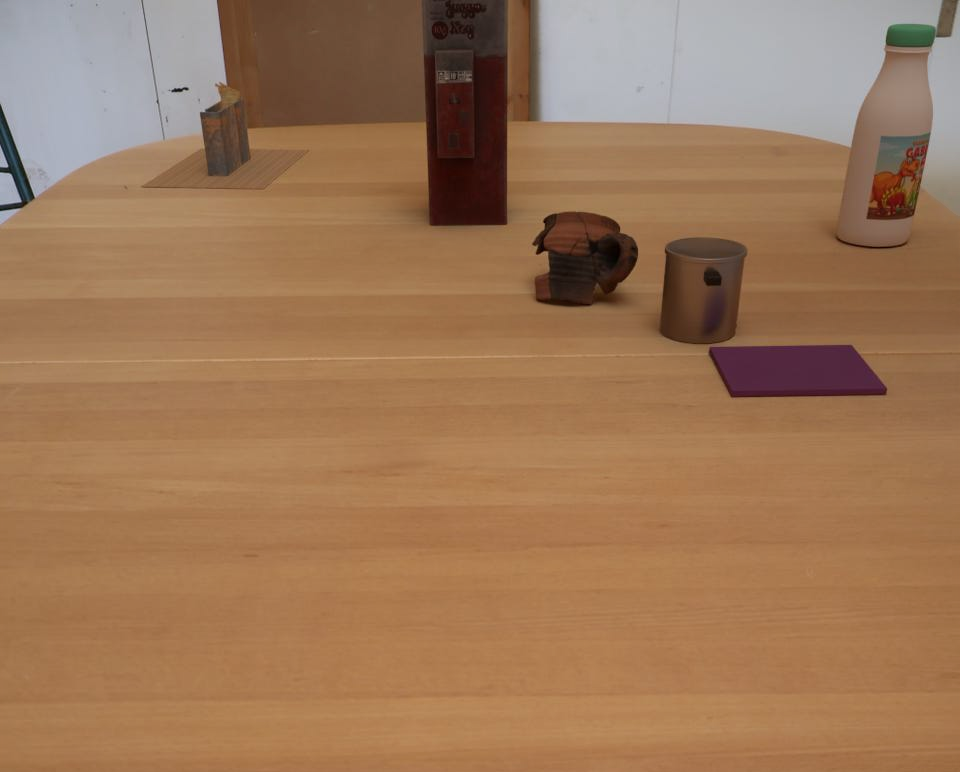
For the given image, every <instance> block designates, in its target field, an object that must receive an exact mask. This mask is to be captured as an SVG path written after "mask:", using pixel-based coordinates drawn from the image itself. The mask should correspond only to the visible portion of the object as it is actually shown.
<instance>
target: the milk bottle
mask: <svg viewBox="0 0 960 772" xmlns="http://www.w3.org/2000/svg"><path fill="white" fill-rule="evenodd" d="M936 32H937V28H936V26H935V25H931V24H924V23H895V24H890V25H889V26H888V28H887V30H886V36H885V45H884V48H883V50H884V53H885V55H884V60H883V63H882V65H881V68H880V70H879V73H878V74H877V76H876V78H875V80H874V82H873V84H872V86H871V87H870V89H869V90H868V93H867V94H866V96H865V98H864V99H863V101H862V104H861V106H860V108H859V111H858V114H857V117H856V120H855V125H854V131H853V135H852V139H851V145H850V149H849V150H850V151H849V154H848V155H849V156H848V161H847V165H846V166H847V167H846V172H845V178H844V184H843V189H842V195H841V201H840V207H839V212H838V219H837V225H836V226H837V227H836V237H837V239H839V240H840V241H842V242H845V243H848V244H851V245H856V246H862V247H863V246H864V247H877V248H881V247H896V246H899V245H900V246H901V245H903V244H905V243H906V242H907V241H908V239H909V238H910V235H911V231H912V227H913V226H912V225H913V221H914V218H915V214H916V209H917V203H918V199H919V194H920V189H921V184H922V180H923V175H924V170H925V165H926V161H927V155H928V150H929V145H930V140H931V134H932V129H933V128H932V127H933V121H934V105H933V98H932V92H931V87H930V83H929V73H928V62H929V61H928V60H929V56H930V53H932V52H933V45H934V43H935V39H936V34H937V33H936Z"/></svg>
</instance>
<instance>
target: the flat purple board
mask: <svg viewBox="0 0 960 772" xmlns="http://www.w3.org/2000/svg"><path fill="white" fill-rule="evenodd" d="M708 347H709V349H708V353H709V355H710V358H711V359H712V361H713V363H714V365H715V367H716V369H717V372H718V373H719V375H720V377H721V379H722V381H723V383H724V385H725V387H726V389H727V390H728V392H729V394H730V396H731V397H732V398H733V397H734V398H737V397H738V398H739V397H796V396H797V397H798V396H800V397H801V396H803V397H805V396H808V397H809V396H860V395H861V396H867V395H887V392H888V387H887V386H886V385H885V383H884V382H883V381H882V380H881V378H879V376H878V375H877V374H876V373H875V371H874V370H873V369H872V368H871V367H870V365H869V364H868V363H867V362H866V360H865V359H864V358H863V357H862V356H861V355H860V353H859V352H858V350H856V348H855V347H854V346H853V344H812V345H809V344H808V345H743V346H742V345H739V346H738V345H737V346H734V345H733V346H708Z"/></svg>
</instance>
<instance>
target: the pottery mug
mask: <svg viewBox="0 0 960 772" xmlns="http://www.w3.org/2000/svg"><path fill="white" fill-rule="evenodd" d="M542 223H543V224H544V229H543V230H541V231H540V232H539V234H538V235H536V237H535V238H534V240H533V241H532V243H531V244H532V246H533V247H537V248H536V250H535V255H537V256H538V255H541V254H542V253H544V252H547V257H548V267H549V268H548V269H549V270H548V272H546V273H542V274H539V275H536V276H535V277H534V286H535V287H534V291H535V300H536V301H548V300H559V301H560V300H561V301H563V302H567V303H568V302H569V303H578V304H585V305H587V306H590V305H592V304H593V300H594V293H596V287H597V285H598V286H599V287H600V289H601V291H602V292H603V293H604V294H605V295H608V294H611V293H613V292H614V291H615V290H617V289H616V288H617V287H618V285H619V284H620V283H623V282H624V281H625V280H626V279H627V278H628V277H629V276H630V274H631V273H632V271H633V270H634V268H635V267H636V265H637V261H638V259H639V246H638V244H637V242H636V240H635V239H634V237H633V236H631V235H628V234H626V233H623V232H621V225H620V224H619V223H618V222H617V221H616V220H615V219H613V218H611V217H609V216H607V215H603V214H599V213H595V212H587V211H574V210H573V211H562V212H558V213H557V212H556V213H555V212H554V213H551V214H549V215H547V216H546V217H544V218H543V220H542Z"/></svg>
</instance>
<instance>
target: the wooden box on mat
mask: <svg viewBox="0 0 960 772" xmlns="http://www.w3.org/2000/svg"><path fill="white" fill-rule="evenodd" d="M218 83H219V84H218ZM218 83H214V86H215V88H217V91H218V94H219V97H220V100H219V101H218V102H216V103H215V104H213V105H211V106H209V107H207V108H205V109H204V111H199V115H200V116H199V118H200V125H201V131H202V132H201V133H202V140H203V145H204V148H200V149H198V150H196V151H195V152H193V153H192V154H190V155H189V156H187V157H186V158H184V159H182V160H181V161H179V162H177V164H176V163H175V164H174V165H173V166H171V167H170V168H168V169H166V170H165V171H164V172H162V173H160V174H159V175H157V176H155V177H154V178H152V179H151V180H150V181H147V183H146V182H145V184H143V185H141V188H185V189H186V188H187V189H188V188H189V189H190V188H191V189H238V190H239V189H243V190H244V189H245V190H246V189H247V190H248V189H249V190H264V189H265V188H266V187H267V186H269V185H270V184H271V183H272V182H273V181H275V180H276V179H277V178H278V177H279V176H280V175H281V174H283V173H284V172H285V171H286V170H288V169H289V168H290V167H291V166H292V165H293V164H294V163H296V162H297V161H298V160H299V159H301V157H303V156H304V155H305V154H306V153H308V152H309V150H310V149H259V148H258V149H256V148H255V149H254V148H252V149H251V148H250V143H249V142H250V141H249V133H248V132H249V131H248V125H247V117H246V109H245V108H246V107H245V99H244V97H241V91H239V90H236V89H234V88H232V87H230V86H228V85H226V84H225V83H223V82H221V81H219V82H218Z"/></svg>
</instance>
